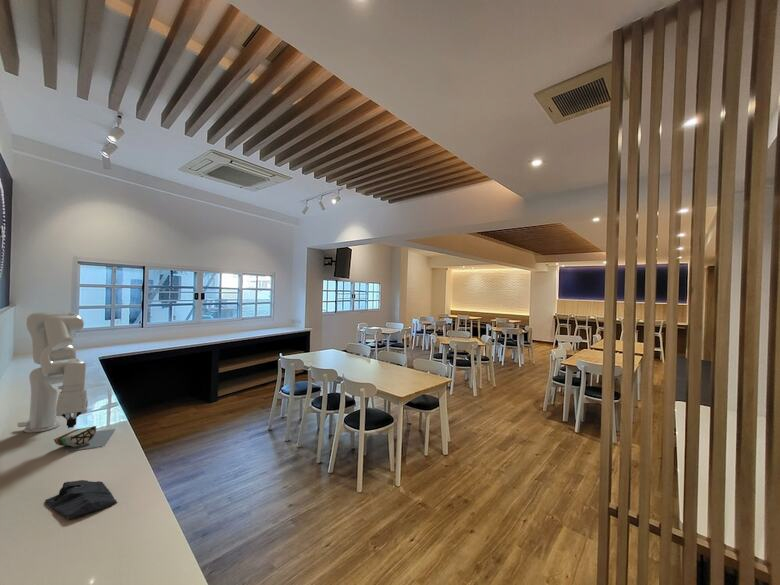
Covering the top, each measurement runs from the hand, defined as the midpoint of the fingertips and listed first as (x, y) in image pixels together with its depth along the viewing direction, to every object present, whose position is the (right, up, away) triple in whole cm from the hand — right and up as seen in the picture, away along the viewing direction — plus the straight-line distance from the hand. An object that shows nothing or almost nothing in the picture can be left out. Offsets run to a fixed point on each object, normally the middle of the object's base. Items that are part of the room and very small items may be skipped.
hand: (71, 426), depth 153 cm
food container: (-1, -6, -2) cm, 6 cm away
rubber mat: (+7, -8, +4) cm, 11 cm away
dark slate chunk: (+45, -9, -42) cm, 62 cm away
